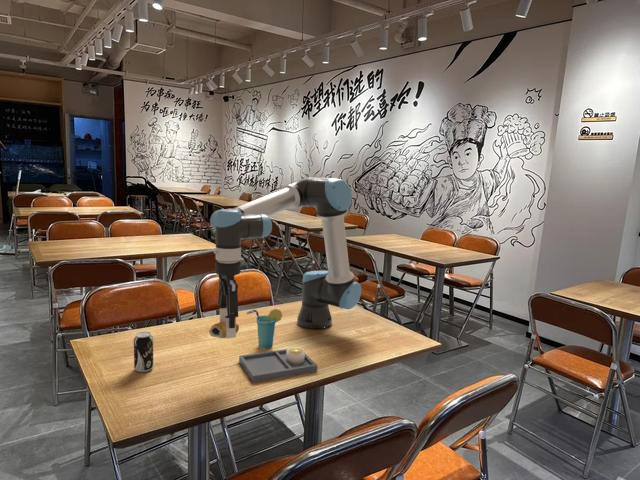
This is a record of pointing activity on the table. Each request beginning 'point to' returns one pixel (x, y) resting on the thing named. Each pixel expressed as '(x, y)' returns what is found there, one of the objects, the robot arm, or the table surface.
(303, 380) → the table surface
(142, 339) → the beverage can
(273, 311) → the cup
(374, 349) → the table surface
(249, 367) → the serving board
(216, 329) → the pastry
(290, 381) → the table surface
